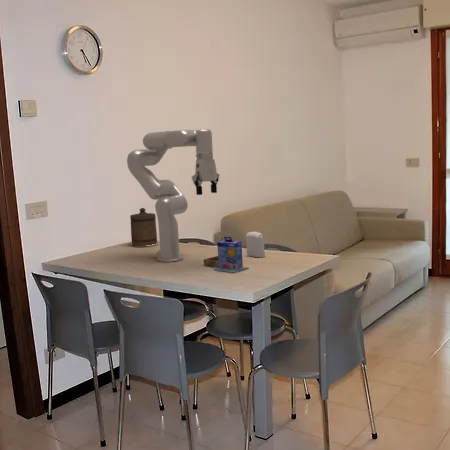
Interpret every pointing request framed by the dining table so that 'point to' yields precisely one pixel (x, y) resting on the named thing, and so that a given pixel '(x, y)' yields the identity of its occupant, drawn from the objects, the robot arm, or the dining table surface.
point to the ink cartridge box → (230, 254)
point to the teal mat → (231, 270)
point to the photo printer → (255, 244)
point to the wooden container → (143, 228)
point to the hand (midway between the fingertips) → (206, 193)
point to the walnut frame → (212, 262)
